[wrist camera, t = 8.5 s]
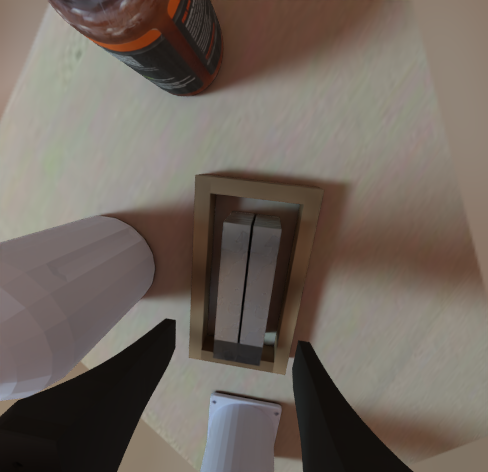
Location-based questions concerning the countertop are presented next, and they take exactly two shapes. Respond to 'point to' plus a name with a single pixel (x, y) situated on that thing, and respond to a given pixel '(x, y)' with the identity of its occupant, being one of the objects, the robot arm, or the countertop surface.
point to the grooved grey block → (234, 285)
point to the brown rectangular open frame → (297, 270)
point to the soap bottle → (65, 297)
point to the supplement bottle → (154, 38)
